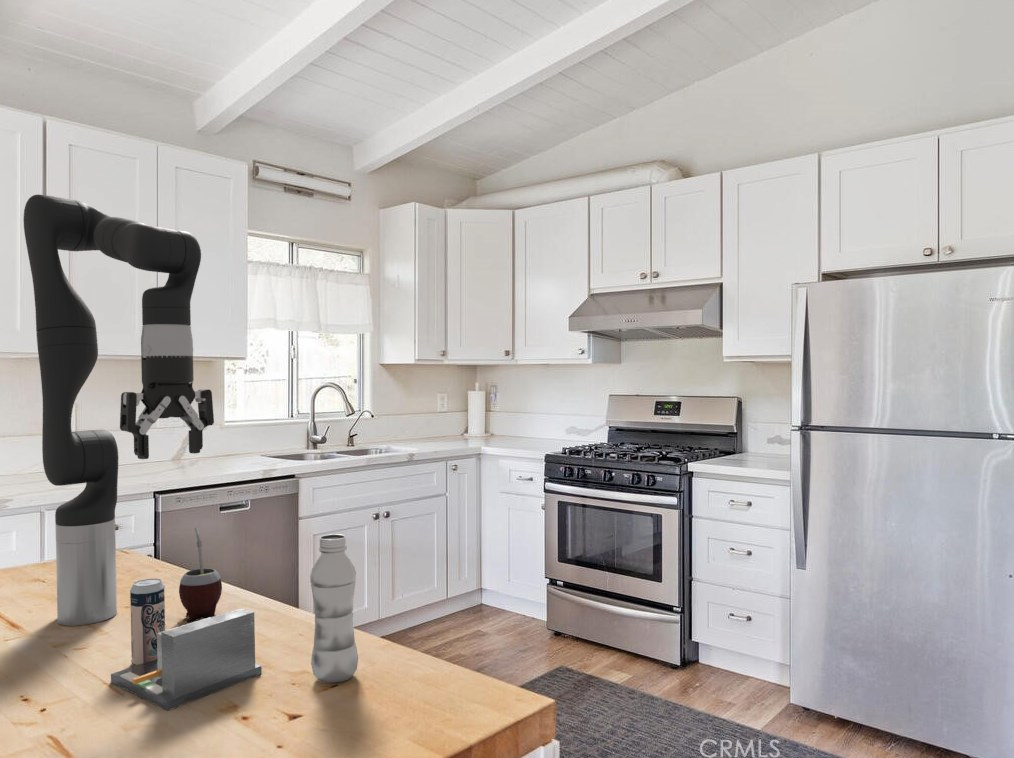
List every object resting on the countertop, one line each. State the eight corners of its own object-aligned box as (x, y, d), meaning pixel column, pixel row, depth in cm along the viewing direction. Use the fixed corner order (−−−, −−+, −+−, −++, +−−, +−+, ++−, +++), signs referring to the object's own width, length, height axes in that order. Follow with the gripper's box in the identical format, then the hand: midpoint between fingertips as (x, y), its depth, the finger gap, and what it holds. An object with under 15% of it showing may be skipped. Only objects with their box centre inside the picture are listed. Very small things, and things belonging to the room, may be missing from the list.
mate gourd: (202, 625, 128) (200, 538, 128) (166, 620, 131) (164, 535, 130) (232, 612, 135) (231, 529, 135) (197, 607, 138) (196, 526, 137)
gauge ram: (130, 684, 100) (129, 640, 100) (209, 657, 109) (208, 616, 109) (136, 687, 99) (135, 642, 99) (215, 659, 109) (214, 618, 108)
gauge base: (111, 682, 105) (109, 617, 105) (203, 651, 116) (202, 592, 116) (167, 710, 96) (165, 639, 96) (261, 674, 107) (260, 610, 107)
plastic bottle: (317, 692, 100) (315, 544, 100) (306, 674, 106) (304, 535, 106) (364, 683, 103) (362, 539, 103) (351, 666, 109) (348, 530, 109)
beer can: (152, 669, 109) (150, 587, 109) (123, 666, 110) (122, 586, 110) (173, 656, 114) (171, 578, 114) (145, 654, 115) (144, 577, 115)
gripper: (196, 355, 127) (198, 450, 127) (110, 354, 115) (112, 459, 115) (221, 354, 122) (223, 453, 122) (134, 353, 111) (136, 462, 111)
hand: (169, 455), depth 119 cm, fingers open, 8 cm apart
